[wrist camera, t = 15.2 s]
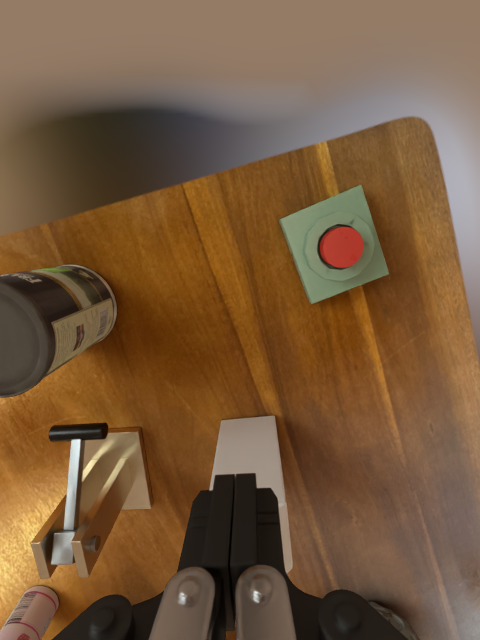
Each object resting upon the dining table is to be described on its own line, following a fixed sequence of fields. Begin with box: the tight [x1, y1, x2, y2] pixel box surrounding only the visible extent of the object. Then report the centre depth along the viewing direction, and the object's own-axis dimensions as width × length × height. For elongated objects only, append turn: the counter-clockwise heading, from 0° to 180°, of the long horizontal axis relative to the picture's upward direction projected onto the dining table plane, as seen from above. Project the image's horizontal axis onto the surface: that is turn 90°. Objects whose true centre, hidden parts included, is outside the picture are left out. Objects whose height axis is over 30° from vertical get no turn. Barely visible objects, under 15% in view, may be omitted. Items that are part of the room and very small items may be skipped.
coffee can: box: [0, 265, 117, 398], centre depth 34 cm, size 10×10×14 cm
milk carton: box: [210, 416, 293, 574], centre depth 35 cm, size 7×7×19 cm
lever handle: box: [49, 423, 108, 565], centre depth 36 cm, size 13×6×2 cm, turn 4°
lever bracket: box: [31, 427, 153, 579], centre depth 39 cm, size 12×9×14 cm
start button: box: [320, 227, 364, 268], centre depth 34 cm, size 4×4×2 cm
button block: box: [279, 185, 389, 304], centre depth 36 cm, size 10×9×4 cm
